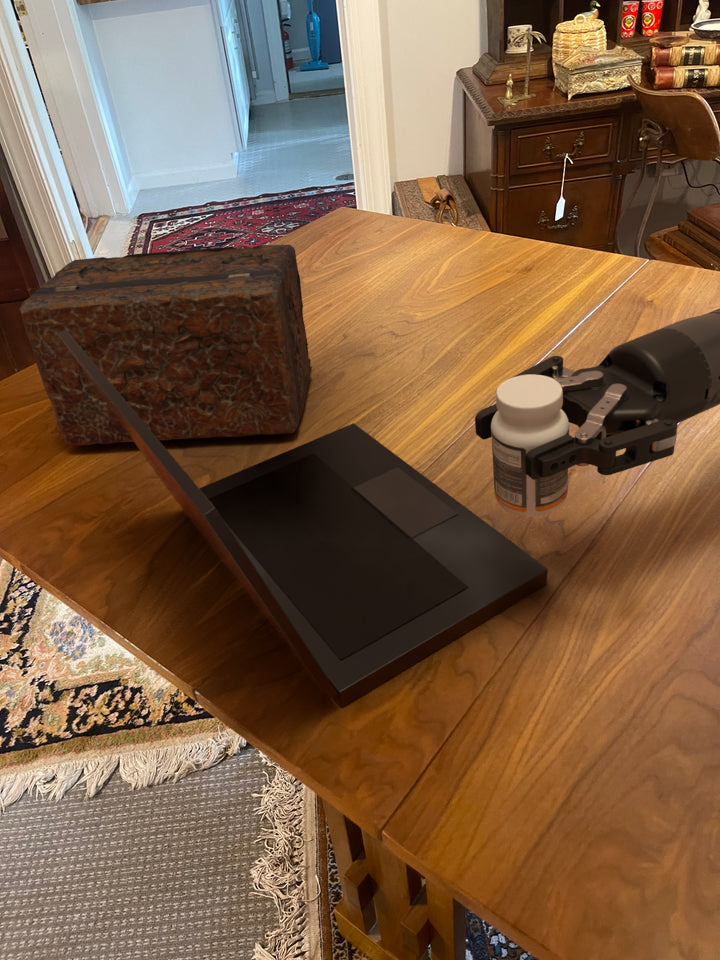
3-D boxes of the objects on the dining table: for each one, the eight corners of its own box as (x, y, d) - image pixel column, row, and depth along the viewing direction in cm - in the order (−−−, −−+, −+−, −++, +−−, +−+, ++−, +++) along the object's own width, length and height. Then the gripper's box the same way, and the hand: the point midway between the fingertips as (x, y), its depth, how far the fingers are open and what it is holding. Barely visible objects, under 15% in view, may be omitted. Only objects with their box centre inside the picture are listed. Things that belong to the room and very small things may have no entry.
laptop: (355, 436, 89) (353, 421, 87) (546, 584, 66) (548, 568, 65) (186, 509, 80) (182, 494, 79) (341, 708, 58) (339, 691, 56)
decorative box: (101, 395, 105) (55, 462, 88) (62, 252, 95) (1, 296, 78) (314, 379, 105) (310, 443, 87) (298, 233, 94) (290, 273, 77)
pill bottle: (559, 472, 60) (561, 365, 55) (574, 516, 56) (579, 405, 50) (489, 479, 61) (484, 375, 55) (499, 524, 56) (495, 415, 51)
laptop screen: (66, 328, 64) (57, 333, 64) (216, 506, 41) (203, 515, 41) (182, 495, 79) (175, 500, 79) (339, 692, 56) (329, 700, 56)
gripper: (616, 301, 62) (446, 365, 57) (761, 364, 51) (566, 449, 47) (611, 378, 67) (453, 444, 62) (743, 451, 56) (563, 537, 51)
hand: (502, 446), depth 54 cm, fingers closed on pill bottle, 5 cm apart
